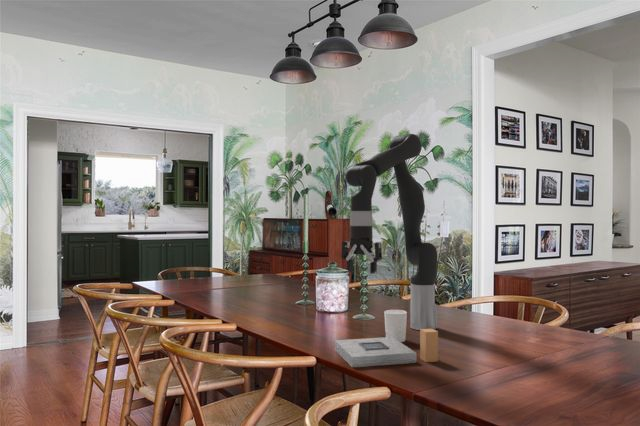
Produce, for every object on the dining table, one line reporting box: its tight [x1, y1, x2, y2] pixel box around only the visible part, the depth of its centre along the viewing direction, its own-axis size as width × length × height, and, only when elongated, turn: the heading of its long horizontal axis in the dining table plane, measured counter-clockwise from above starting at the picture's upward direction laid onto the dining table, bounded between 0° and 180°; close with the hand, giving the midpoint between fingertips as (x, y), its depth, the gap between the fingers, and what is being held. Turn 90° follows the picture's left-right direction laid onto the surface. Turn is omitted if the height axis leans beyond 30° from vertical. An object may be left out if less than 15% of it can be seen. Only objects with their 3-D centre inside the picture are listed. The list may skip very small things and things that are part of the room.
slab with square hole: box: [334, 336, 417, 368], centre depth 159 cm, size 20×20×3 cm
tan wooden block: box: [419, 329, 439, 363], centre depth 155 cm, size 4×4×9 cm
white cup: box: [383, 309, 408, 343], centre depth 179 cm, size 8×8×10 cm
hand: (361, 272), depth 172 cm, fingers open, 8 cm apart
